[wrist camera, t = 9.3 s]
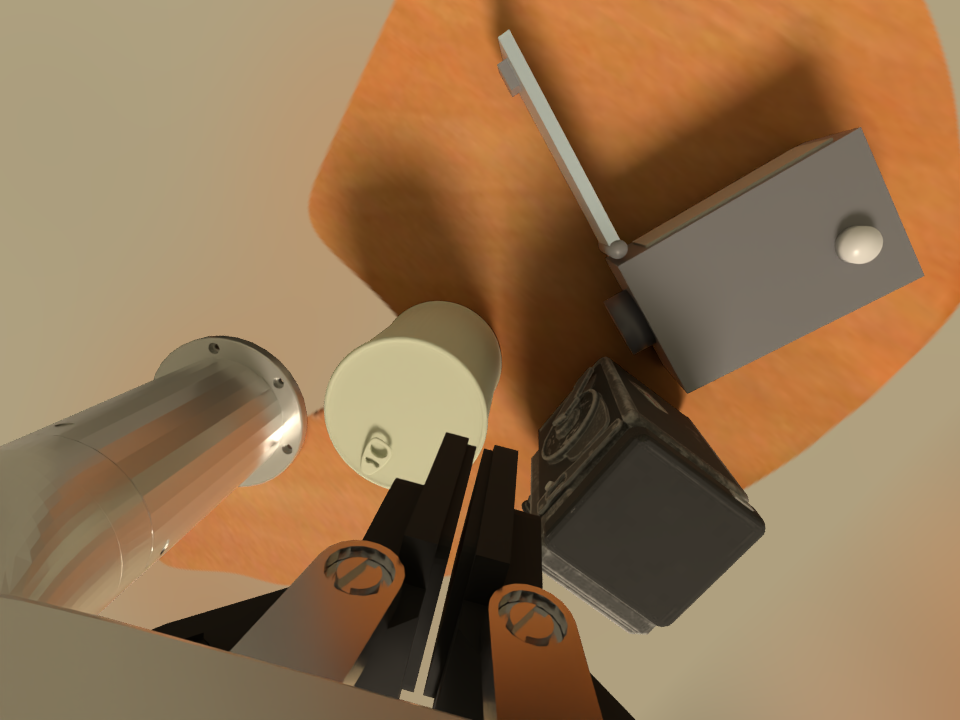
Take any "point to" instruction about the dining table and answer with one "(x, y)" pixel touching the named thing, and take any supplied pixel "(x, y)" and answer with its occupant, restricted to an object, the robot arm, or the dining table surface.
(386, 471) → the can
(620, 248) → the side door
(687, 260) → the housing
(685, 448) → the camera
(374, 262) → the dining table surface
